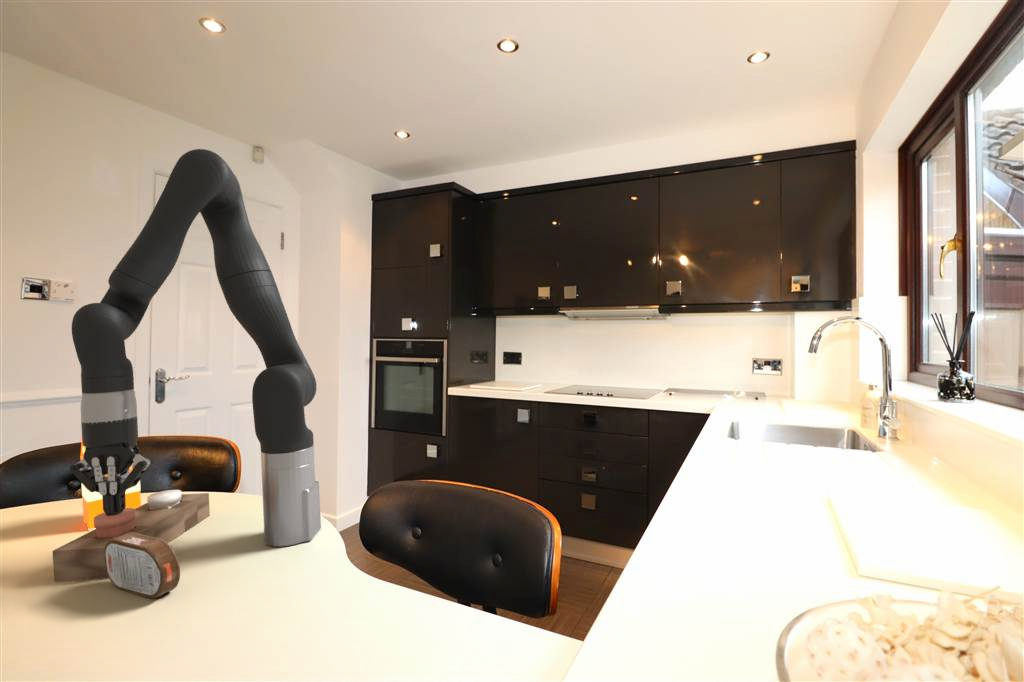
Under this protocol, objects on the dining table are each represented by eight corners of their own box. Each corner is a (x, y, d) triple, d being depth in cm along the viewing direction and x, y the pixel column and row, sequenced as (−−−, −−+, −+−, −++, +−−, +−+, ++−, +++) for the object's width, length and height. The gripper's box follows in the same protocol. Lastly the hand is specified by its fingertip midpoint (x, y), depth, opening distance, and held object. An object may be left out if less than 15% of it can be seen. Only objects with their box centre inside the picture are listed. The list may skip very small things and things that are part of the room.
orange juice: (142, 517, 103) (137, 427, 103) (88, 531, 97) (83, 434, 96) (134, 509, 108) (130, 423, 108) (83, 522, 102) (78, 430, 101)
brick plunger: (144, 542, 86) (142, 506, 86) (121, 556, 80) (119, 519, 80) (112, 544, 86) (110, 508, 86) (86, 558, 80) (84, 521, 80)
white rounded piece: (188, 519, 99) (187, 488, 99) (171, 530, 93) (169, 498, 93) (161, 521, 99) (159, 490, 99) (141, 532, 93) (140, 499, 93)
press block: (209, 515, 103) (208, 493, 103) (118, 576, 77) (117, 546, 77) (162, 518, 102) (161, 495, 102) (54, 581, 76) (52, 550, 76)
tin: (183, 594, 71) (180, 539, 71) (160, 606, 68) (158, 549, 68) (123, 577, 77) (121, 527, 77) (100, 587, 74) (98, 534, 74)
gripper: (163, 411, 87) (167, 504, 87) (88, 414, 86) (92, 508, 86) (133, 419, 79) (138, 520, 80) (50, 422, 78) (56, 524, 79)
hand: (114, 513), depth 83 cm, fingers closed
